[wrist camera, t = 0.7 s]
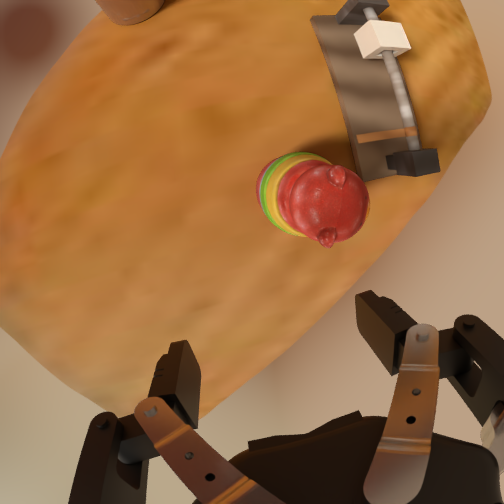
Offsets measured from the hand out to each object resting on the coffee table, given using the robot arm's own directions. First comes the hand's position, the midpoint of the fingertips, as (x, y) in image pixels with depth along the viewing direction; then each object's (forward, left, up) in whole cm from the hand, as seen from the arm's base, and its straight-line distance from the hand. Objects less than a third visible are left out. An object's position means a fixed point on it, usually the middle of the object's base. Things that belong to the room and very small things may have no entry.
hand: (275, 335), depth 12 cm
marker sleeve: (-21, +23, -22) cm, 38 cm away
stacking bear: (-3, +8, -27) cm, 28 cm away
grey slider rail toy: (-15, +24, -27) cm, 38 cm away
